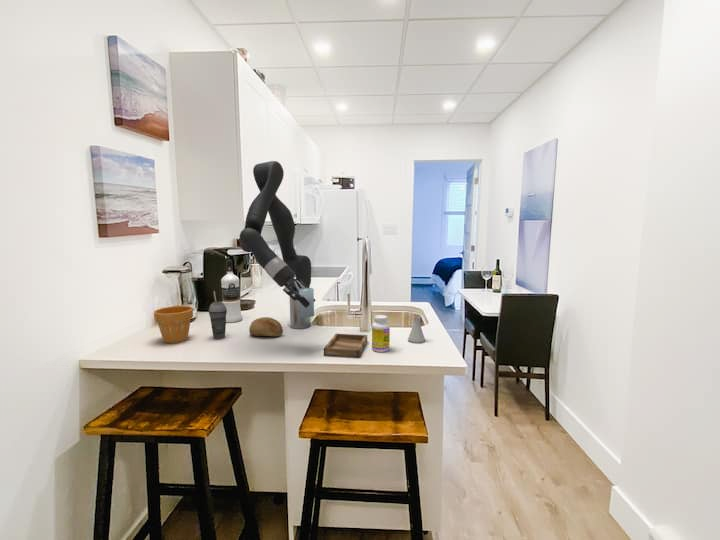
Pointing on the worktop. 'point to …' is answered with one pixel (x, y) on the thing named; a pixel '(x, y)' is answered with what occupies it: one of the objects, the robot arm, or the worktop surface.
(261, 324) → the bread roll
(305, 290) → the blue rounded capsule
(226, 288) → the vodka
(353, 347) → the tray
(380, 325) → the supplement bottle
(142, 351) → the worktop surface
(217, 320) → the beverage cup
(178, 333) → the flower pot
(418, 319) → the flask
